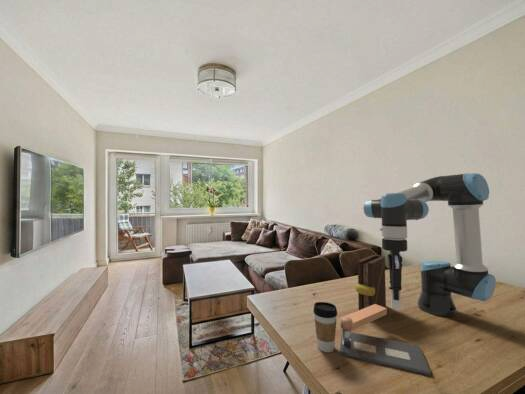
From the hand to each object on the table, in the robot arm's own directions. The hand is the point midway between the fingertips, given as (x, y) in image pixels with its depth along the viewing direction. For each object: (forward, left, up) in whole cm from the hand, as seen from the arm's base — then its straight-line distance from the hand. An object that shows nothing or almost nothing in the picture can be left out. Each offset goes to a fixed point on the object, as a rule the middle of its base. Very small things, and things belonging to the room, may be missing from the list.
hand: (395, 308), depth 78 cm
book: (+6, -34, -17) cm, 38 cm away
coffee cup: (+23, +3, -17) cm, 29 cm away
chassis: (+5, -2, -16) cm, 17 cm away
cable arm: (+10, -8, -9) cm, 16 cm away
